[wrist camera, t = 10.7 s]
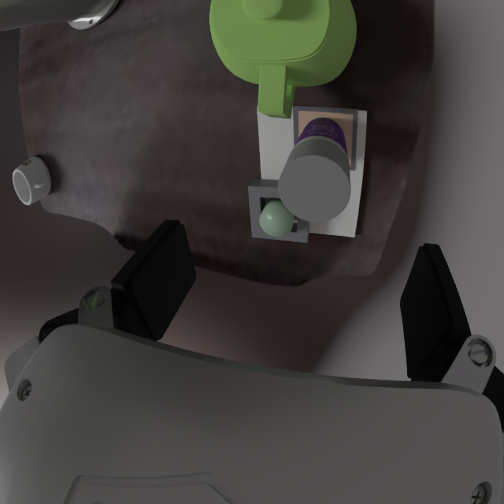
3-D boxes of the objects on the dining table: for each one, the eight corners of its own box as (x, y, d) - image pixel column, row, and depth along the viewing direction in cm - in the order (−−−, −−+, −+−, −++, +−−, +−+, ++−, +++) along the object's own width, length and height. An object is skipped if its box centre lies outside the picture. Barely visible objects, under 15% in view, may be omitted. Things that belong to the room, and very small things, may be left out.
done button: (264, 195, 32) (258, 206, 30) (296, 197, 31) (292, 209, 29) (266, 222, 35) (260, 235, 32) (296, 225, 34) (292, 238, 31)
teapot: (228, -35, 17) (173, -74, 7) (348, -38, 14) (352, -91, 4) (234, 109, 29) (180, 132, 19) (351, 117, 26) (363, 142, 16)
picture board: (250, 105, 28) (241, 109, 26) (366, 110, 25) (369, 114, 22) (258, 224, 38) (252, 237, 35) (354, 233, 34) (355, 247, 32)
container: (335, 111, 25) (337, 142, 14) (350, 150, 27) (362, 214, 16) (295, 125, 27) (263, 167, 16) (312, 162, 29) (293, 231, 18)
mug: (36, 192, 48) (18, 205, 44) (27, 155, 42) (7, 166, 38) (62, 196, 46) (42, 211, 41) (53, 154, 40) (30, 167, 36)
